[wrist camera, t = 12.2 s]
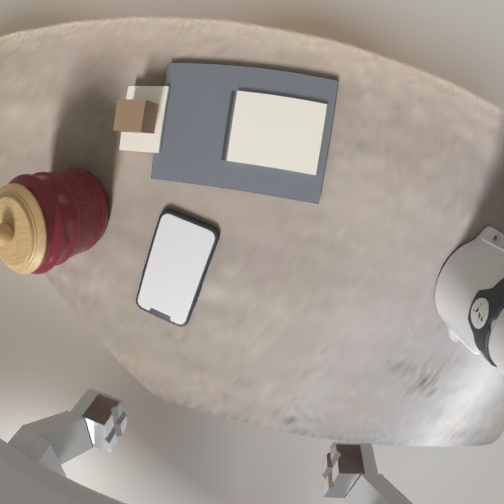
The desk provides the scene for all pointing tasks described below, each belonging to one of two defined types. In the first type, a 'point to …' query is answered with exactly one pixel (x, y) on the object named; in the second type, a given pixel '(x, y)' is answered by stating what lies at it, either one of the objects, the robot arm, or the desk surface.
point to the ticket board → (246, 129)
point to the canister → (50, 218)
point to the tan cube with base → (142, 118)
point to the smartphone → (176, 266)
